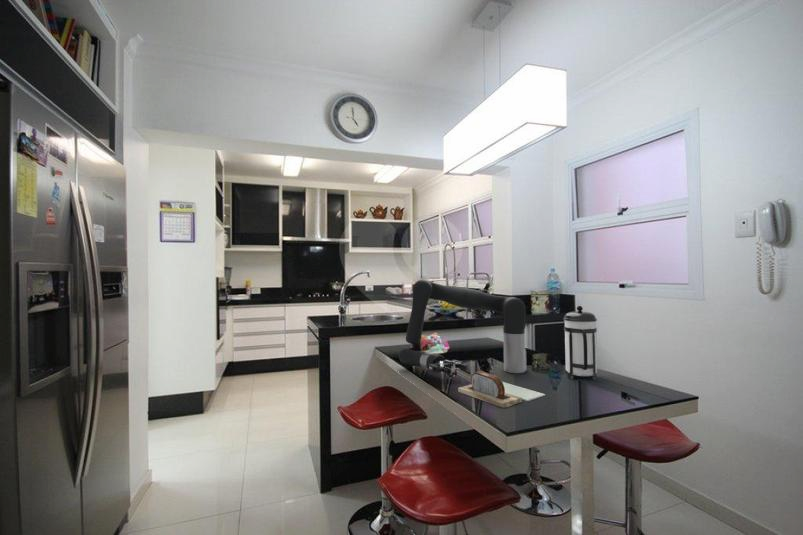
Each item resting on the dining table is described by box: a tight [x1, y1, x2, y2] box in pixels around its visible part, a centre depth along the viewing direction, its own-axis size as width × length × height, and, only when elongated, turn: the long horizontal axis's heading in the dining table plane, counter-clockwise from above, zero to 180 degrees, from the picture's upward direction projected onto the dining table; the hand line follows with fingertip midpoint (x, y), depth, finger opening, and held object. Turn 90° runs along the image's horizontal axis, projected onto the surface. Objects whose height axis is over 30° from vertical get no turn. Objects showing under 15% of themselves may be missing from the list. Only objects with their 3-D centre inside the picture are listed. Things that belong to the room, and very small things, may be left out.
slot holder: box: [457, 384, 522, 409], centre depth 134 cm, size 9×21×2 cm, turn 35°
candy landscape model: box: [409, 332, 450, 355], centre depth 219 cm, size 25×24×9 cm
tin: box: [470, 370, 505, 400], centre depth 134 cm, size 15×3×8 cm, turn 30°
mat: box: [502, 381, 546, 402], centre depth 141 cm, size 10×22×1 cm, turn 35°
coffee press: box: [563, 305, 599, 382], centre depth 157 cm, size 17×16×30 cm
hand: (458, 369), depth 147 cm, fingers open, 8 cm apart
